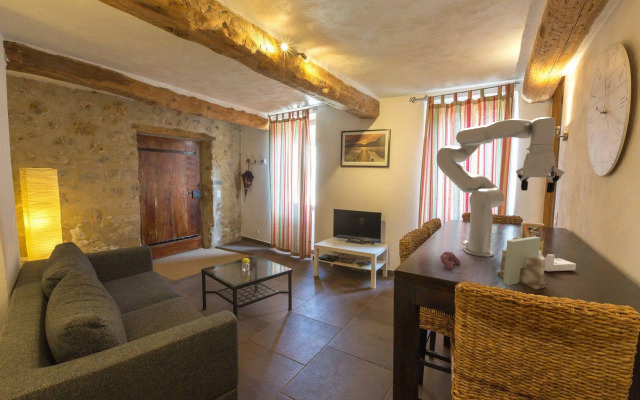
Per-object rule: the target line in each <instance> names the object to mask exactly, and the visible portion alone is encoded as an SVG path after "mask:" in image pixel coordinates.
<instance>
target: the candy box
mask: <svg viewBox="0 0 640 400" xmlns="http://www.w3.org/2000/svg"><path fill="white" fill-rule="evenodd" d="M520 224H521V225H520V234H519V237H521V238H527V237H534V236H535V237H540V247H539V250H541V253H542V254H543V253H544V252H543V251H544V241H545V236H546V235H545V233H546V232H545V231H546V225H545V224H544V223H539V222H538V223H537V222H536V223H535V222H523V221H522V222H521V223H520Z"/></svg>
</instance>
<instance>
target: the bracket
mask: <svg viewBox="0 0 640 400" xmlns="http://www.w3.org/2000/svg"><path fill="white" fill-rule="evenodd" d="M555 257H556V255H555V254H546V257H545V256H544V255H543V252H542V253H541V250H539V256H538V258H539V259H542V260H545V269H544V271H546V272H560V271H561V272H563V271H576V267H577V263H574V262H571V261H568V260H566V259H563V258H559V257H558V258H555Z"/></svg>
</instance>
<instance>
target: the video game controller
mask: <svg viewBox="0 0 640 400" xmlns="http://www.w3.org/2000/svg"><path fill="white" fill-rule="evenodd" d="M439 258H440V262H441V263H442V264H443V265H444V267H446V268H447V269H449V270H451V271H452V270H454V265H458V266H459V265H461V259H459V258H458V257H457V256H456V255H455V254H454V253H453V252H452V251H444V252H443V253H442V254H441V255H440V257H439ZM453 263H454V265H453Z"/></svg>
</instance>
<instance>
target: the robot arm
mask: <svg viewBox="0 0 640 400" xmlns="http://www.w3.org/2000/svg"><path fill="white" fill-rule="evenodd" d="M556 121H557V120H556V118H555V117H551V116H550V117H547V116H546V117H537V118H534V119H533V120H528V119H524V118H523V119H522V118H509V119H505V120H499V121H495V122H492V123H489V124H484V125H480V126H474V127H473V126H472V127H468V128H463V129H461V130H459V131H458V132H457V133H456V136H455V140H456V142H457V144H458V145H459V146H457V145H455V146H454V145H447V146H444V147H441V148H440V149H439V150H438V151H437V153H436V164H437V166H438V168H439V170H440V171H441V172H442V173H443V175H444V174H445V176H446V177H448V178H449V180H450V181H451V182H452V183H453V184H454V185H456V187H457V188H458V189H459V190H460V191H462V192H463V193H465V194H470V196H469V206H470V207H469V208H470V210H469V211H470V214H469V215H470V216H469V217H470V219H469V230H468V240H463V242H462V243H461V245H463V246H465V248H464V249H463V250H464V252H465V253H466V254H469V255H472V256H477V257H484V258H485V257H486V258H487V257H492V256H494V254H495V253H494V251H492V250H491V243H492V234H493V233H492V230H493V222H494V221H493V218H494V216H493V210H492V209H493V208H498V207H500V206H502V205H503V204H504V202H505V195H504V193H503V191H502V190H501V189H500V188H499V187H498V186H497V185H496V184H495V183H493V182H492V181H491V180H490V179H489V178H488V177H486V176H485V175H482V174H477V173H475V174H474V173H470V172H469V171H468V170H466V168H465V167H464V166H462V165H460V164H459V163H464V162H465V161H467V160H468V159H469V158H470V157H471V156H472V154H473V153H475V152H476V151H477V149H478V148H479V147H480V146H481V145H484V144H491V143H492V142H493V141H494V140H499V139H506V138H507V139H508V138H509V139H510V138H518V139H530V140H529V143H530V144H529V146H527V147H526V151H529V152H526V154H525V158H524V160H523V165H522V167H520V168H519V169H517V170H516V171H515V173H516V174H517V178H518V179H519V181H520V182H521V183H520V190H521V191H528V187H529V181H528V180H529V179H530V178H546V179H547V181H548V182H547V186H546V193H547V194H548V193H549V194H551V193H554V191H555V186H556V183H557V182H558V181H559V180H561V178H562V177H563V175H565V171H564V170H562V169H559V168H558V167H556V155H555V152H553V151H554V143H555V135H556V134H555V133H556V124H557V122H556ZM555 173H557V174H556V176H555Z"/></svg>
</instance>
